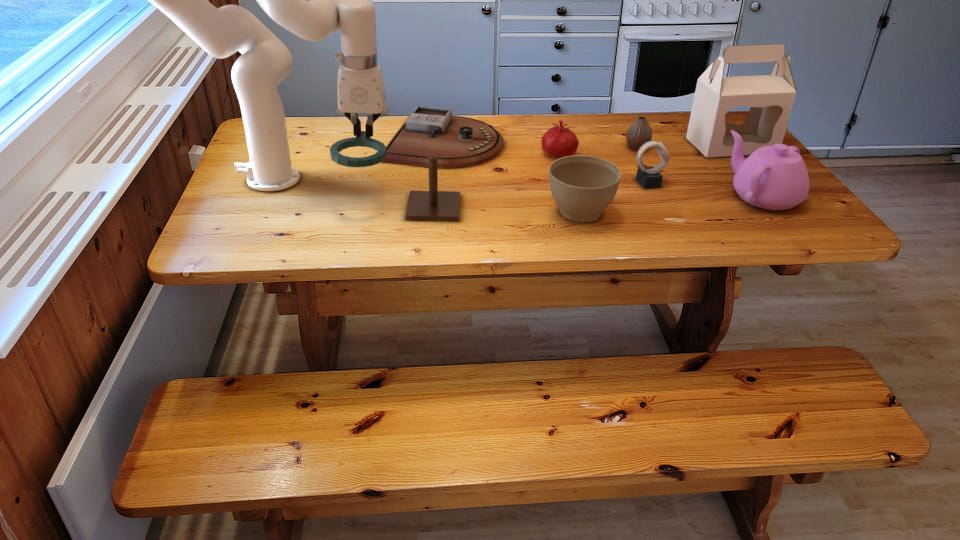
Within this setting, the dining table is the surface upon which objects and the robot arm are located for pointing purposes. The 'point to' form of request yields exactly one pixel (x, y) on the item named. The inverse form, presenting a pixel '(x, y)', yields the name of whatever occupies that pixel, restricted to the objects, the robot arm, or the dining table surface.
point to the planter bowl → (583, 186)
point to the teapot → (770, 175)
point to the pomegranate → (559, 141)
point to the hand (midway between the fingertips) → (363, 138)
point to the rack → (433, 200)
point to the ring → (355, 142)
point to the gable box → (742, 102)
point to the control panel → (443, 140)
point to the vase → (638, 133)
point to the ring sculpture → (651, 175)
